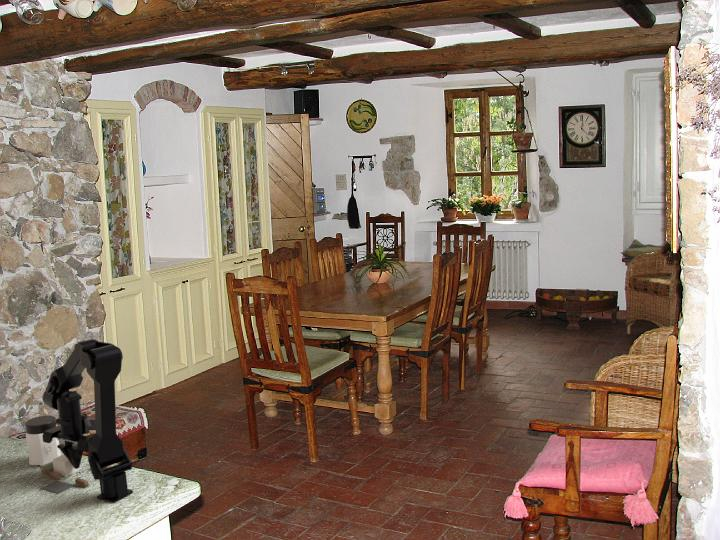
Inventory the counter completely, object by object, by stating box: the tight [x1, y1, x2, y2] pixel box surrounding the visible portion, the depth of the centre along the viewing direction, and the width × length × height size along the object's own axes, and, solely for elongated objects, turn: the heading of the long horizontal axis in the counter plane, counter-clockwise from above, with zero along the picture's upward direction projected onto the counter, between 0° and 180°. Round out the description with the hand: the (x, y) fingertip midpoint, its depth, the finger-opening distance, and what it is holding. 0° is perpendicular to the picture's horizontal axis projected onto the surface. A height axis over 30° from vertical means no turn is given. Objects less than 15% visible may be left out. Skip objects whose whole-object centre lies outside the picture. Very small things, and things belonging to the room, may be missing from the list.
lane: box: [40, 461, 113, 488], centre depth 205 cm, size 18×10×2 cm, turn 60°
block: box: [52, 453, 82, 477], centre depth 207 cm, size 5×5×4 cm
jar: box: [24, 415, 62, 467], centre depth 215 cm, size 9×8×12 cm
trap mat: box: [39, 479, 75, 495], centre depth 198 cm, size 7×5×1 cm
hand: (76, 468), depth 205 cm, fingers closed
